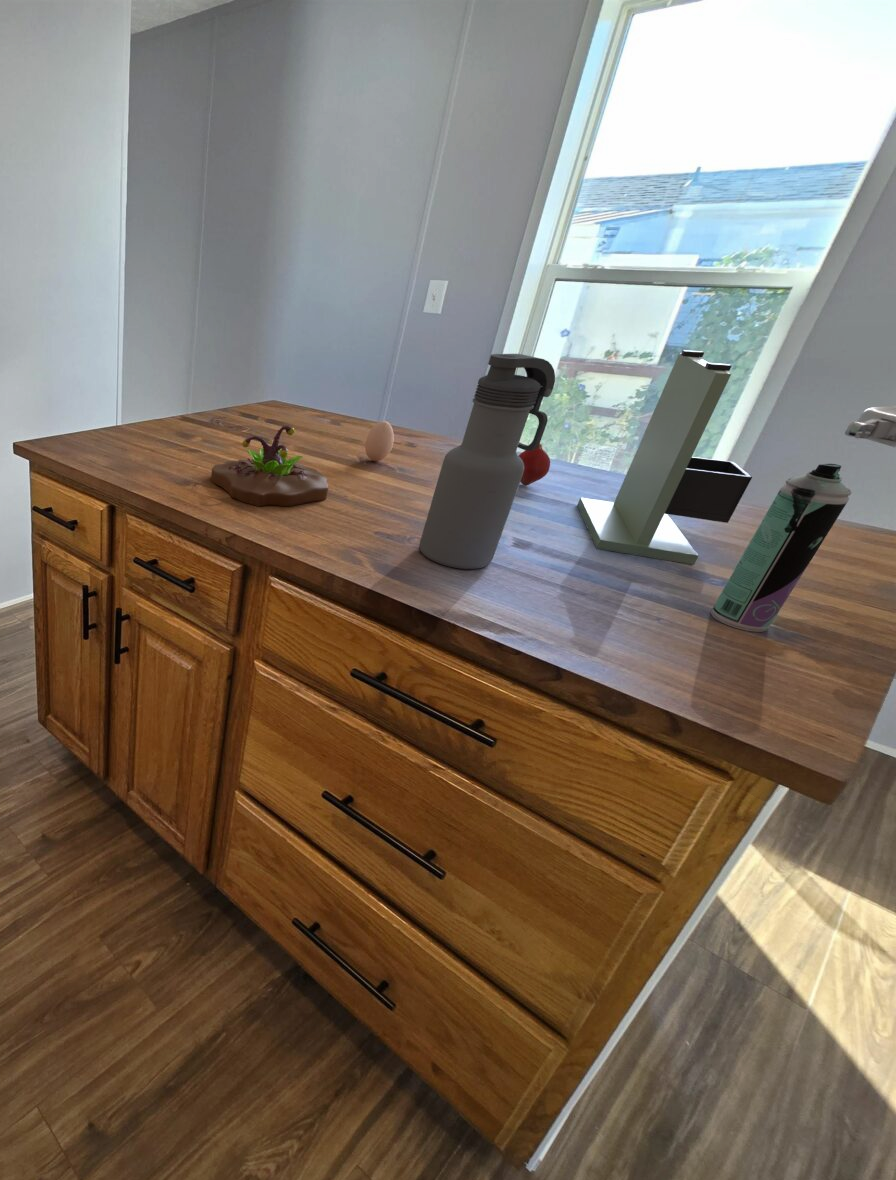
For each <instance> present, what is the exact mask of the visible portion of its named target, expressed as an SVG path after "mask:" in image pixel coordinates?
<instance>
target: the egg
mask: <svg viewBox="0 0 896 1180" xmlns="http://www.w3.org/2000/svg"><path fill="white" fill-rule="evenodd" d="M394 442H395V435H394V430H393V427H392V425H391V423H389V422H388V421H386V420H381V421H379V422H376V423H375V424H374V425H373V426H372V427H371V428H370V430H369V431H368V434H367V436H366V439H365V443H364V449H365V451H364V452H365V454H366V456H367V458H368V459H369V460H371V461H372V462H381V461H382V460H384V459H385V458H386V457H388V455H389V454H390V453H391V451H392V450H393V446H394Z"/></svg>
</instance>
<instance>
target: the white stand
mask: <svg viewBox="0 0 896 1180" xmlns="http://www.w3.org/2000/svg"><path fill="white" fill-rule="evenodd" d="M704 355H705V352H704V351H702V350H701V351H700V350H687V349H683V350H681V352H679V353H678V355H677V356H676V359H675V361H674V364H673V366H672V369H671V371H670V373H669V376H668V378H667V380H666V382H665V384H664V386H663V389H662V392H661V393H660V395H659V398H658V401H657V403H656V405H655V407H654V410H653V412H652V414H651V417H650V420H649V422H648V423H647V426H646V428H645V431H644V432H643V435H642V437H641V440H640V442H639V445H638V447H637V449H636V451H635V453H634V456H633V458H632V461H631V463H630V465H629V468H628V470H627V472H626V474H625V477H624V479H623V481H622V483H621V486H620V488H619V491H618V493H617V495H616V497H615V500H614V502H613V501H609V500H608V501H606V500H600V499H593V498H587V497H586V498H585V497H580V498H579V499H578V502H577V504H576V506H577V508H578V511H579V512H581V513H580V515H581V514H582V515H581V517H582V519H583V521H585V522H584V524H585V523H586V524H585V526H586V525H587V526H586V528H587V527H588V528H587V530H588V532H590V533H589V535H590V538H591V539H592V542H593V544H594V546H595V549H596V550H597V549H598V550H602V551H609V552H615V553H621V554H626V555H633V556H638V557H639V556H640V557H645V558H651V559H657V560H661V561H662V560H663V561H668V562H669V561H670V562H675V563H681V564H687V565H692V566H693V565H695V564H696V562H697V560H698V559H699V556H700V555H699V553H698V552H697V551H696V550H695V548H694V547H693V545H692V544H691V543H690V541H688V539H687V538H686V537H685V536H684V535H685V534H683V533H682V531H681V530H680V529H679V528H678V526H677V525H676V523H675V522H674V521H673V520H672V518H671V517H670V516H676V517H677V516H678V517H685V518H689V519H690V518H691V519H698V520H705V521H710V522H711V521H712V522H718V523H724V524H725V523H726V524H728V523H729V522H730V519H731V518H732V516H733V514H734V513H735V511H736V509H737V507H738V505H739V503H740V501H741V499H742V498H743V496H744V494H745V492H746V490H747V488H748V486H749V484H750V483H751V481H752V478H753V476H751V475H750V474H749V473H748V472H747V471H745V470H744V469H743V468H742V467H741V466H739V465H738V464H737V463H736V462H734V461H731V460H722V459H715V458H714V459H713V458H704V457H696V456H693V455H694V453H695V451H696V449H697V448H698V447H697V446H698V445H699V442H700V441H701V439H702V437H703V434H704V432H705V430H706V428H707V426H708V424H709V422H710V420H711V417H712V415H713V413H714V411H715V410H716V407H717V405H718V403H719V402H720V398H721V397H722V395H723V392H724V391H725V388H726V386H727V384H728V382H729V379H730V378H731V376H732V373H730V370H731V368H732V365H731V364H729V363H719V362H709V361H707V360H705V359H703V357H704Z"/></svg>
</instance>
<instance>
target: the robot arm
mask: <svg viewBox="0 0 896 1180" xmlns="http://www.w3.org/2000/svg"><path fill="white" fill-rule="evenodd" d="M844 435H845V436H847V437H851V438H854V439H862V440H863V439H865V440H869V441H872V442H875V443H878V444H880V445H881V444H882V445H885V446H888V447H892V448H895V449H896V405H894V406H893V405H891V406H890V405H889V406H873V407H869V408H866V409H865V410H864V411H862V413H861V414H860V415H859V417H858V418H857V420H856V421H852V422H850V423H849V425H848V426H847V428H846V430H845V431H844Z"/></svg>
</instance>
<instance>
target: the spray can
mask: <svg viewBox="0 0 896 1180" xmlns="http://www.w3.org/2000/svg"><path fill="white" fill-rule="evenodd" d="M841 469H842V465H840V464H836V463H823V464H821V463H820V464H818V466H817V467H816V468H815V469H812V470H811V471H808V472H807V471H806V474H805V475H799V476H796V477H789V478H786V480H785V484H782V485H781V487H780V488H779V490H778V492H777V494H776V496H775V497H774V499H773V500H772V503H771V504H770V506H769V508H768V510H767V512H765V515H764V517H763V518H762V520H761V522H760V524H759V526H758V528H757V529H756V531H755V533H754V535H753V536H752V538H751V540H750V541H749V543H748V545H747V547H746V549H745V551H744V552H743V554H742V556H741V558H740V559H739V561H738V562H737V564H736V566H735V568H734V570H733V572H732V574H731V575H730V577H729V579H728V580H727V582H726V584H725V586H724V588H723V589H722V591H721V593H720V595H719V596H718V598H717V600H716V602H715V604H714V605H713V607H712V609H711V611H710V615H711V616H712V618H714V619H715V620H717V621H718V622H720V623H722V624H724V625H725V626H729V627H731V628H735V629H738V630H741V631H747V632H753V633H761V632H762V633H763V632H766V631H768V629H769V628H770V627H771V625H772V623H773V622H774V621H775V619H776V617H777V616H778V614H779V613H780V611H781V609H782V607H783V606H784V604H785V603H786V602H787V600H788V598H789V597H790V595H791V593H792V591H793V590H794V589H795V587H796V585H797V584H798V582H799V580H800V579H801V577H802V576H803V574H804V573H805V571H806V569H807V568H808V566H809V564H810V563H811V561H812V560H813V558H814V557H815V555H816V553H817V552H818V550H819V548H820V547H821V545H822V544H823V542H824V540H825V539H826V537H827V536H828V534H829V532H830V531H831V529H832V528H833V526H834V524H835V523H836V521H837V519H838V518H839V516H840V515H841V513H842V511H843V510H844V509H845V507H846V505H847V504H848V502H849V501H850V497H849V496H851V494H853V491H852V490H851V489H850V488H849V487H846V484H844V483H843V482H842V481H843V478H842V477H840V474H839V472H840V471H841Z"/></svg>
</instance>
